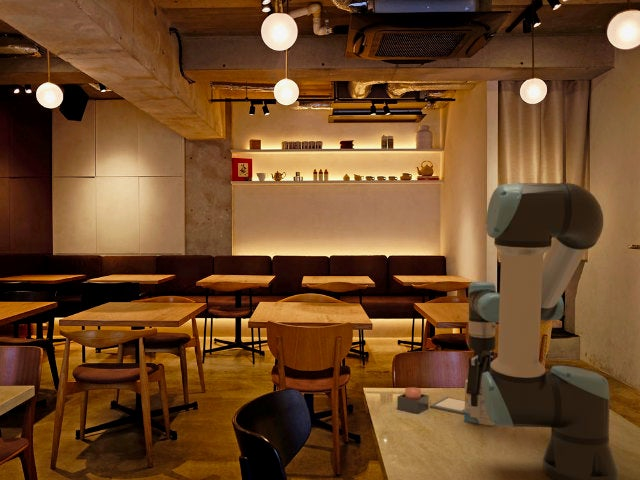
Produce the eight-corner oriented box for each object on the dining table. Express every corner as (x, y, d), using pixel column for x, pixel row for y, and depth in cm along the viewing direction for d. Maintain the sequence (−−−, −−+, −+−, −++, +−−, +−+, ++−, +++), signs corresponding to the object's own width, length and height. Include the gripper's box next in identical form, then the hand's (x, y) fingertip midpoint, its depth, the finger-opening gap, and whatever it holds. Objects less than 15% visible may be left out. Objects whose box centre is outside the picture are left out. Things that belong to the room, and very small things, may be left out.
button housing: (417, 414, 161) (417, 400, 161) (397, 409, 166) (397, 396, 166) (428, 408, 167) (428, 395, 167) (408, 404, 171) (408, 391, 171)
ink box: (463, 421, 155) (463, 375, 155) (470, 413, 162) (470, 368, 162) (494, 426, 151) (494, 378, 151) (499, 417, 158) (499, 372, 158)
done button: (416, 405, 163) (416, 392, 163) (402, 402, 166) (402, 389, 166) (423, 402, 167) (423, 389, 167) (409, 399, 170) (409, 386, 170)
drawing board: (463, 414, 161) (463, 412, 161) (430, 407, 168) (430, 405, 168) (479, 405, 170) (479, 402, 170) (446, 398, 177) (446, 396, 177)
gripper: (480, 342, 145) (480, 425, 145) (507, 331, 163) (507, 406, 163) (454, 339, 150) (453, 419, 150) (483, 329, 167) (483, 401, 167)
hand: (481, 412), depth 156 cm, fingers closed on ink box, 9 cm apart
